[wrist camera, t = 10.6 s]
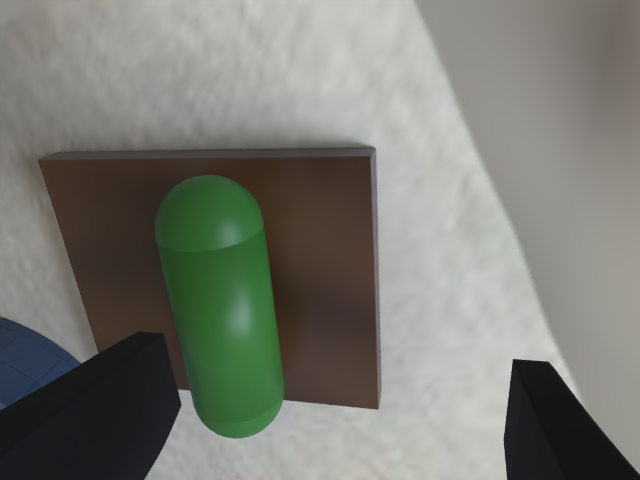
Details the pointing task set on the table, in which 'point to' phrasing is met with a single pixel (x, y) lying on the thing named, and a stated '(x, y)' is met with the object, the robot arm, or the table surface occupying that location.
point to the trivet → (282, 246)
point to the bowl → (28, 362)
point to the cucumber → (222, 302)
